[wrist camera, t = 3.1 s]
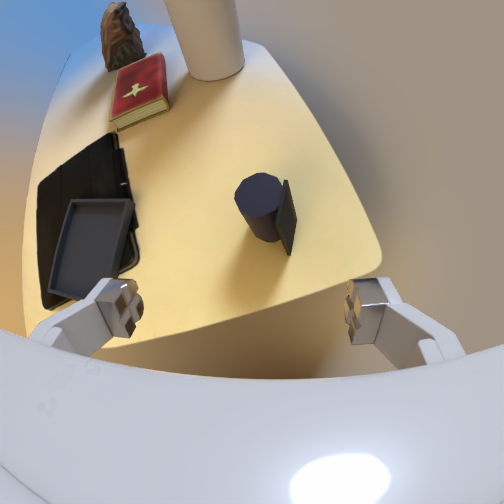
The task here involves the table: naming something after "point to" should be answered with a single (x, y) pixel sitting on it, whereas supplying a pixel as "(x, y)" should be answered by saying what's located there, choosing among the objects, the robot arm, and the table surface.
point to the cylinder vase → (208, 37)
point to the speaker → (268, 208)
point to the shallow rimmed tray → (89, 245)
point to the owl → (120, 38)
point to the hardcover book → (139, 92)
